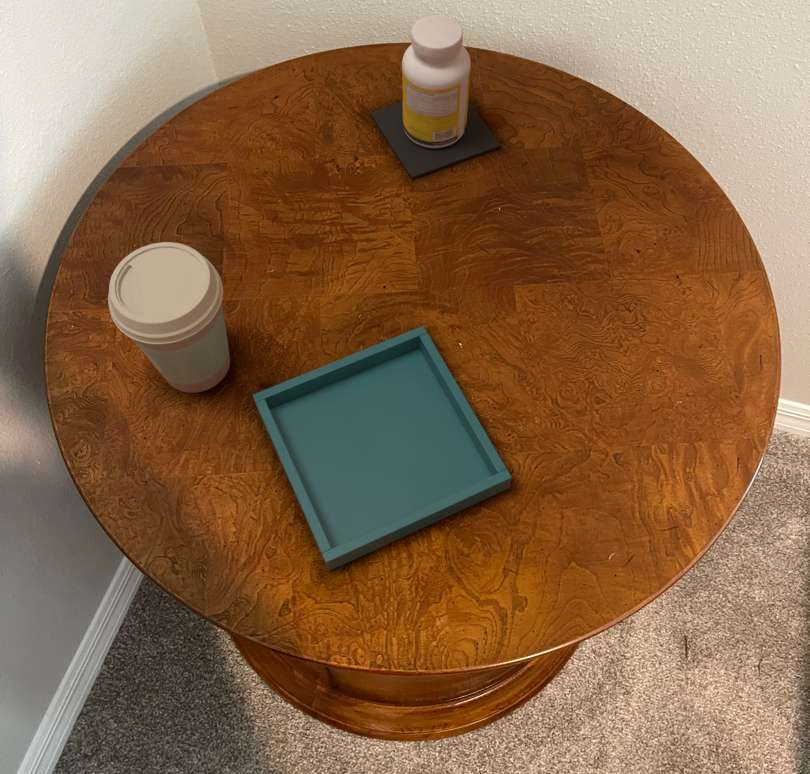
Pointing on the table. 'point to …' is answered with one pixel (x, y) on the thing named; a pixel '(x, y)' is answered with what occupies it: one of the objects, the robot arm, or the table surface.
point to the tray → (379, 446)
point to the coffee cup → (173, 313)
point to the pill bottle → (435, 82)
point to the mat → (433, 159)
